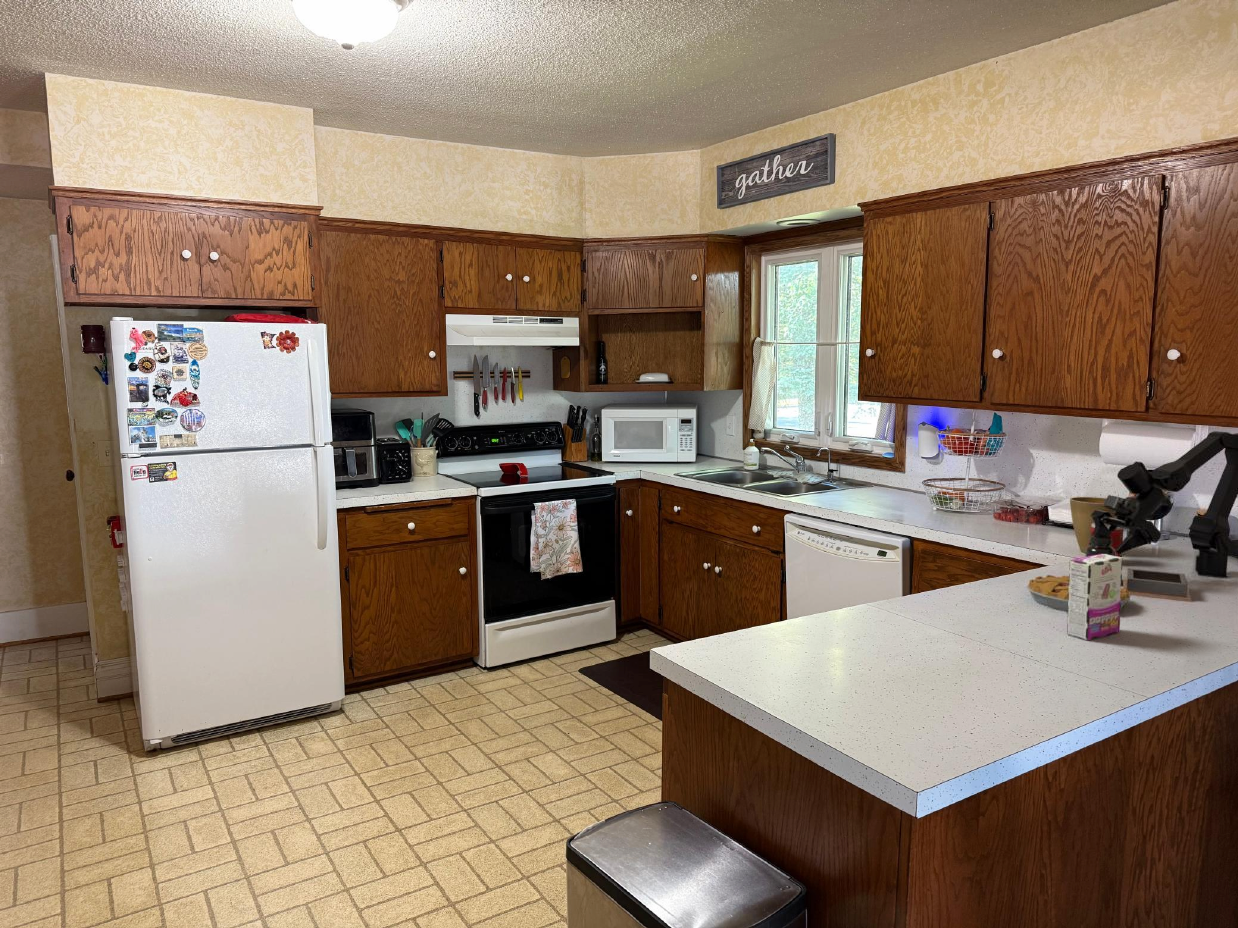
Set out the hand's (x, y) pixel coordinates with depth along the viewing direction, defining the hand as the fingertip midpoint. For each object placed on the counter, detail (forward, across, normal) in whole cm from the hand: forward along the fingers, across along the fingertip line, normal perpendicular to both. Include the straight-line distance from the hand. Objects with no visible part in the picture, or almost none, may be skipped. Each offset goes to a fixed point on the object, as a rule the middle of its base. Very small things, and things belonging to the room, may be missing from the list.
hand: (1103, 548), depth 222 cm
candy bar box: (+31, +37, -18) cm, 51 cm away
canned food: (-6, -18, +18) cm, 26 cm away
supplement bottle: (+7, 0, +6) cm, 9 cm away
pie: (+21, +16, -8) cm, 28 cm away
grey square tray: (+2, +11, +10) cm, 15 cm away
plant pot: (-11, -30, +23) cm, 40 cm away
